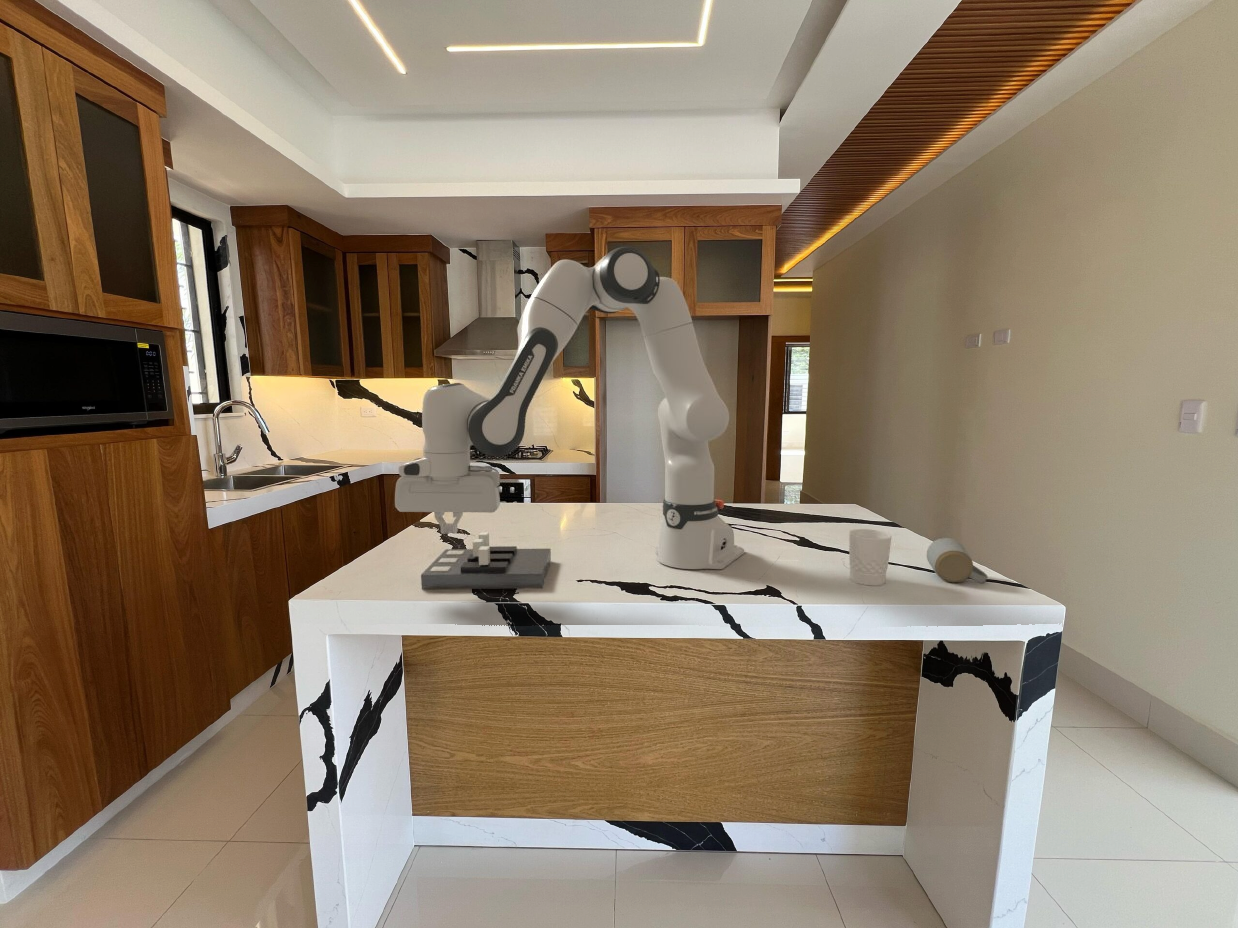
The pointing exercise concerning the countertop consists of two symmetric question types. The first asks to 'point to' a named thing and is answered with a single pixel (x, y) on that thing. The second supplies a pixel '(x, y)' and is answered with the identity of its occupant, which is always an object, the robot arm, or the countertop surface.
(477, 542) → the block
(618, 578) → the countertop surface
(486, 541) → the white short rectangular block
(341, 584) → the countertop surface
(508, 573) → the breaker panel
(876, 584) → the white cup
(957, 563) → the ceramic mug
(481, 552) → the block
